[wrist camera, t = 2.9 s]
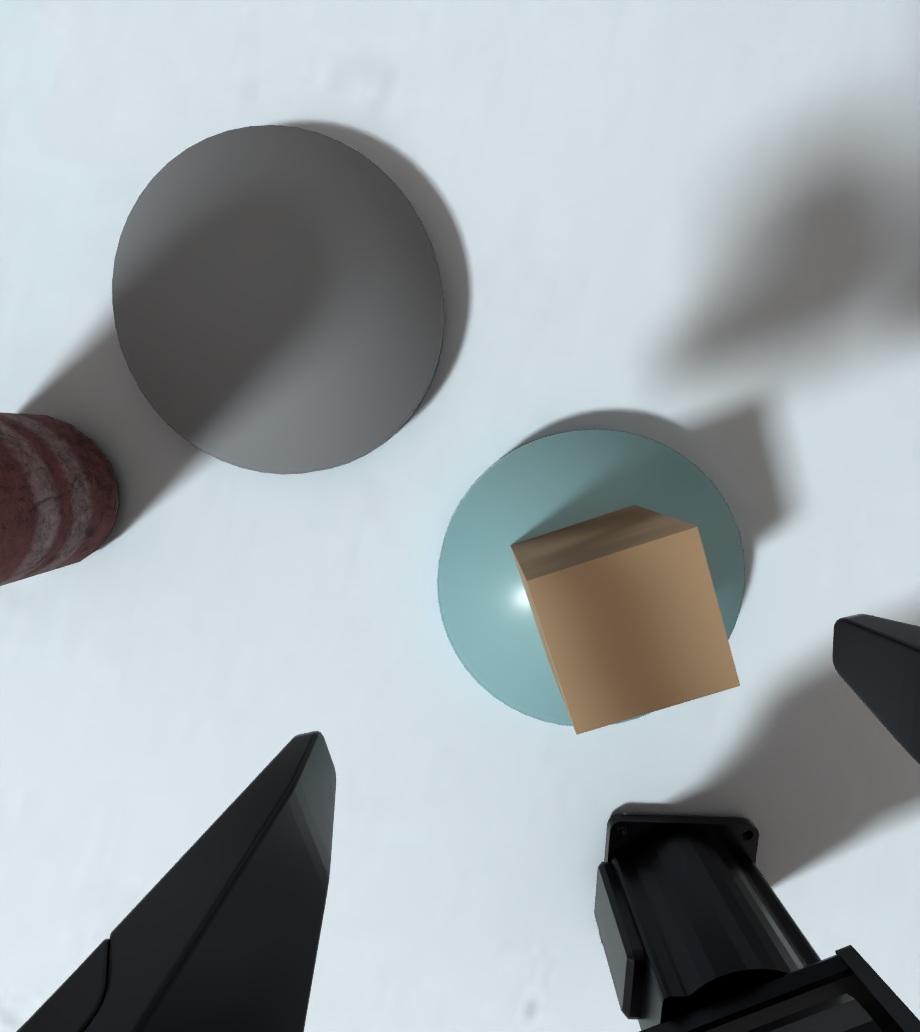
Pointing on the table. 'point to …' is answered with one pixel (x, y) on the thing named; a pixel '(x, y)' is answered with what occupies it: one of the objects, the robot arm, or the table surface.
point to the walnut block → (626, 615)
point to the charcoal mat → (278, 300)
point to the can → (50, 496)
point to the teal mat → (549, 507)
